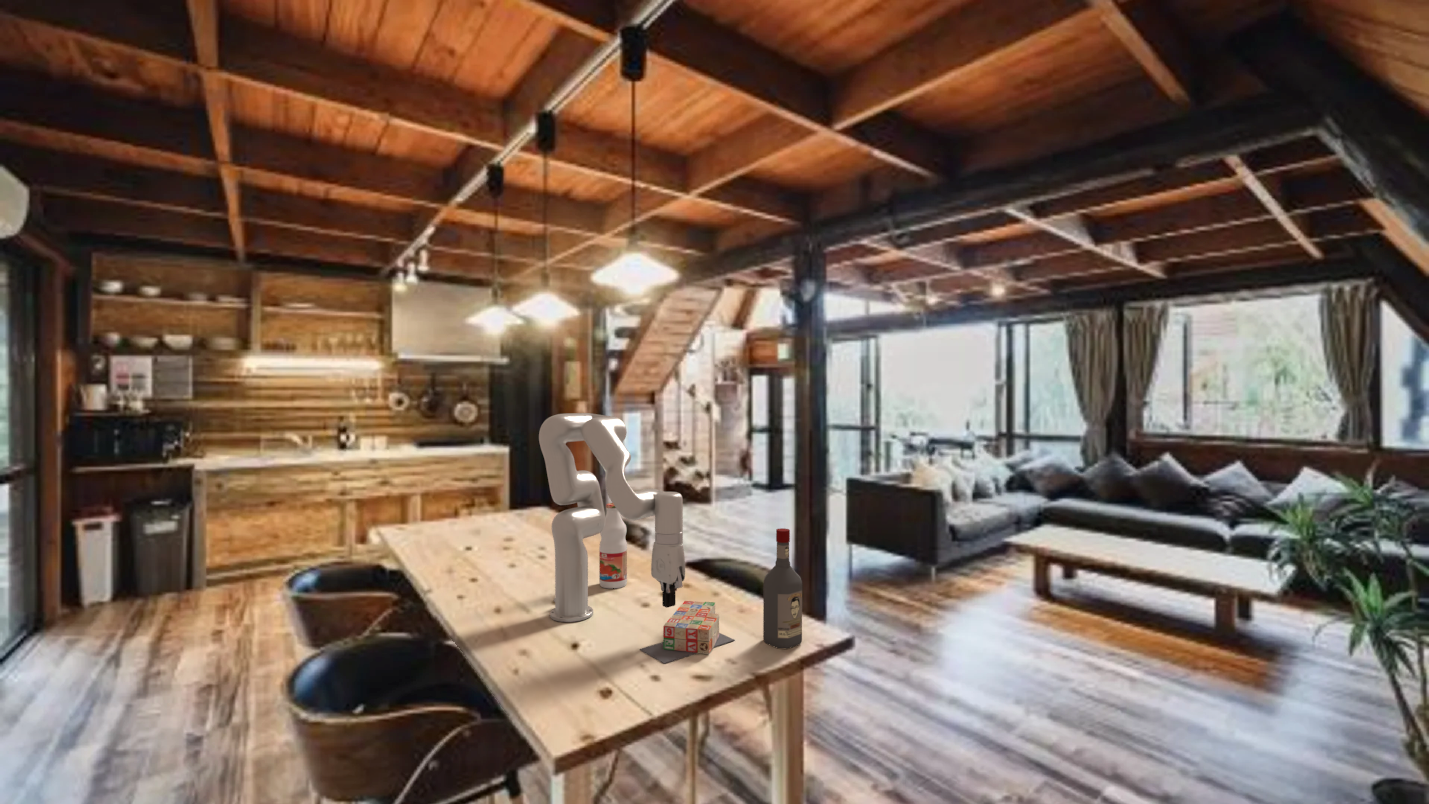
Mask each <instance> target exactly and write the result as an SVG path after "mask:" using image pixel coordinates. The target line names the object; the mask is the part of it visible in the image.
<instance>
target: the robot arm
mask: <svg viewBox="0 0 1429 804" xmlns="http://www.w3.org/2000/svg"><path fill="white" fill-rule="evenodd" d="M538 433H539V434H538V441H539V445H540V450H541V453H542V455H543V458H544V463H545V468H546V474H547V479H548V480H547V481H548V485H549V491H550V495H551V499H552V501H553V502H554V503H555V504H556V505H559V506H566V505H567V506H568V505H572V504H577V507H572V508H568V509H565V510H562V511H560V512H558V513H557V514H556V515H555V516H554V518H553V519H552V522H551V535H552V538H553V543H554V545H553V546H554V569H555V570H554V577H555V578H554V582H555V583H554V588H555V589H554V591H555V593H554V598H553V601H554V605H555V606H554V608H553V609H552V610H550V612H549V617H550V619H551V620H553V621H556V622H562V623H572V622H575V623H576V622H579V621H580V622H581V621H584V620H587V619H589V618H591V617H592V616H593V615H594V608H593V607H592V606H590V605H589V559H588V558H589V556H588V550H587V548H586V546H585V543H584V541H583V540H584V539H586V538H590V537H594V536H596V535H598V534H600V532H601V531H602V530H603V528H604V526H605V517H606V511H605V506H604V502H603V501H604V500H603V497H602V491H601V490H602V489H601V485H600V482H599V481H598V479H597V477H596V475H595V474H594V473H593V472H591V471H589V470H584V469H583V470H581V469H580V470H577V467H576V463H575V462H576V461H575V458H574V455H573V453H572V451H571V449H570V448H569V447H568V445H566V444H567V443H570V442H583V441H584V442H585V443H586V446H588V448H589V450H590V451H591V453H592V454H593V456H594V457H596V460H597V461H598V462H599V464H600V466H601V467H602V469H603V470H604V472H605V476H604V477H605V488H606V493H607V497H608V498H609V499H610V502H611V503H613V504H614V506H615V507H616V509H617V510H618V511H619V513H620V515H621V517H623V518H625V519H626V520H629V521H633V522H634V521H639V520H641V519H645V518H651V517H654V542H653V546H652V553H651V561H650V562H651V563H650V564H651V565H650V574H651V577H652V578H654V579H655V580H656V581H658V582H659V584H660V590H661V591H662V599H661V600H662V602H661V603H662V607H664V608H671V607H674V606H676V592H677V591H678V589H681V588H683V582H684V581H685V578H686V559H685V558H686V557H685V552H684V551H685V550H684V544H683V542H684V539H683V538H684V536H683V535H684V532H683V531H684V530H683V529H684V528H683V527H684V526H683V525H684V524H683V521H684V519H683V518H684V517H683V514H684V513H683V507H684V506H683V503H684V501H683V495H682V494H681V493H680V492H677V491H663V490H660V489H656V488H647V489H640V490H636V491H634V490H633V488H632V487H631V486H630V484H629V483H628V482H627V479H626V477H625V473H624V469H625V468H626V467H627V466H628V465H629V464H630V462H631V459H632V455H631V453H630V452H629V450H628V449H627V448H626V446H625V444H623V442H624V441H625V439H626V436H627V427H626V425H625V423H624V421H623V420H621V419H620V418H619V417H617V416H612V415H605V414H604V415H603V414H599V413H598V414H596V413H589V412H583V413H582V412H576V413H569V412H568V413H558V414H555V415H552V416H549V417H547V418H546V419H545V420H544V421H543V423H542V424H541V426H540V428H539V432H538Z"/></svg>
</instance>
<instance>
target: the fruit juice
mask: <svg viewBox="0 0 1429 804" xmlns="http://www.w3.org/2000/svg"><path fill="white" fill-rule="evenodd" d="M605 508H606V512H605V526H604V528H603V530H602V531H601V532H600V533H599V534H600V537H601V539H600V541H599V549H598V550H599V551H598V552H599V561H598V563H599V564H598V565H599V574H598V575H599V586H600V587H601V588H602V589H603V588H604V589H613V588H614V589H620V588H624V587H625V586H626V585H627V582H628V543H627V540H626V535H627V525H626V523H625V522H624V521H623V519H622V515H621V514H620V513H619V511H618V510H617V509H616V507H615V506H614V504H613V503H612V502H610V503H606V504H605Z"/></svg>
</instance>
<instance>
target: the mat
mask: <svg viewBox="0 0 1429 804" xmlns="http://www.w3.org/2000/svg"><path fill="white" fill-rule="evenodd" d="M732 642H736V641H735V639H734V638H731V637H729V636H727V635H726V634H723V633H721V632H719V637H718V639H717V641H716V643H715V645H714V647H713V649H714V648H717V647H720V646H723V645H727V644H729V643H732ZM639 651H641V652H643V654H646V655H647V656H650V657H651V658H653V659H655V660H656V661H659V662H660V663H662V664H663V665H666V664H669V663H672V662H675V661H678V660H681V659H684V658H688V657H690V656H693V655H696V654H698V653H693V652H686V651H677V650H674V651H673V650H665V649H663V641H661V642H658V643H655V644H651V645H649V646H648V645H647V646H645V647H641V648H640V649H639Z"/></svg>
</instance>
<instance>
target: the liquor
mask: <svg viewBox="0 0 1429 804" xmlns="http://www.w3.org/2000/svg"><path fill="white" fill-rule="evenodd" d="M790 532H791V531H790V529H789V528H785V527H784V528H781V527H780V528H776V533H775V535H776V536H775V537H776V538H775V541H776V558H775V559H776V561H775V562H774V563H775V565H774V566H773V567H772V568H771V569H770V570H769V571H768V573H766V574H765V576H764V578H763V599H762V600H763V601H762V603H763V608H762V610H763V617H762V618H763V619H762V620H763V623H762V626H763V627H762V630H763V631H762V634H763V636H762V637H763V638H762V639H763V641H764V643H765V644H767V645H769V644H770V645H769V646H771V647H773V646H774V648H776V647H777V648H776V649H778V648H789V649H791V648H794V647H796V645H797V646H799V645H801V643H802V642H803V580H802V577H801V576H800V575H799V574H798V573H797V571H795V569H794V568H793V567H792V565H791V562H790V541H791V540H790V539H791V536H790V535H791V534H790ZM798 644H799V645H798ZM793 646H794V647H793ZM790 647H791V648H790Z"/></svg>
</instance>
